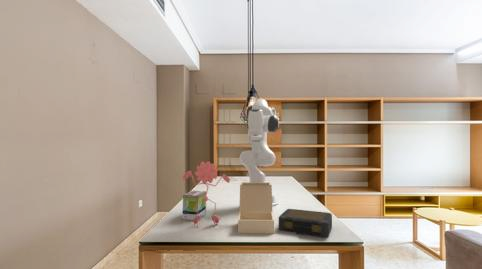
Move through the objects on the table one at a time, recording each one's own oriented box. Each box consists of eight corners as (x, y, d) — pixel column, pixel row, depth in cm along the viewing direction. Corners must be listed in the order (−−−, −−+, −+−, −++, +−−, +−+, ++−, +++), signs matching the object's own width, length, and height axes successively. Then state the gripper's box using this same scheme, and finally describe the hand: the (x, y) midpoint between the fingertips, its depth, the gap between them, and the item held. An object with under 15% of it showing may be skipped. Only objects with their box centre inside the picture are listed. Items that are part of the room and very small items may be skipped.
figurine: (230, 227, 151) (230, 162, 152) (181, 228, 149) (181, 162, 150) (229, 219, 167) (228, 160, 168) (184, 221, 164) (185, 160, 166)
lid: (272, 210, 155) (272, 212, 157) (271, 182, 164) (271, 184, 166) (239, 210, 156) (239, 212, 158) (240, 182, 165) (240, 184, 167)
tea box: (198, 220, 164) (198, 195, 164) (182, 219, 166) (182, 194, 166) (206, 213, 179) (206, 190, 179) (191, 213, 181) (191, 189, 181)
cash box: (332, 226, 154) (332, 212, 154) (328, 238, 135) (328, 222, 136) (287, 221, 164) (287, 207, 164) (277, 231, 145) (277, 216, 145)
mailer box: (272, 224, 156) (272, 212, 157) (274, 234, 140) (274, 220, 141) (239, 224, 157) (239, 211, 157) (238, 234, 141) (238, 220, 141)
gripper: (250, 137, 170) (250, 160, 170) (249, 137, 150) (249, 163, 150) (260, 137, 170) (260, 160, 170) (261, 137, 149) (261, 163, 149)
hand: (255, 161), depth 160 cm, fingers closed
